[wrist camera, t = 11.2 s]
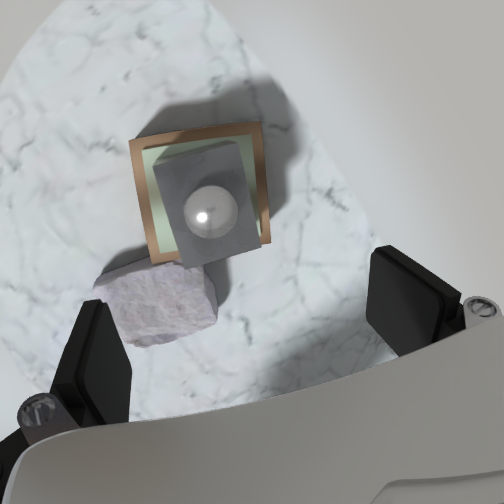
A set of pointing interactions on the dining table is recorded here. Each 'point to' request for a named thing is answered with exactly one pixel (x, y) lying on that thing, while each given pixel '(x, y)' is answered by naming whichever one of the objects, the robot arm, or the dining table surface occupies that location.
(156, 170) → the housing
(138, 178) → the stand
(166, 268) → the stone block
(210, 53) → the dining table surface
